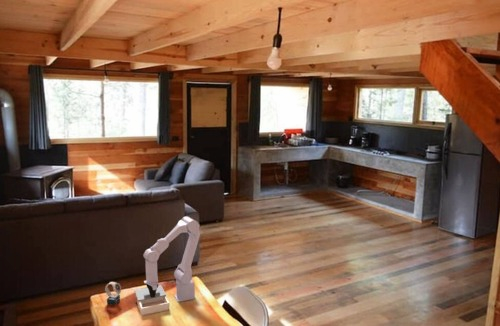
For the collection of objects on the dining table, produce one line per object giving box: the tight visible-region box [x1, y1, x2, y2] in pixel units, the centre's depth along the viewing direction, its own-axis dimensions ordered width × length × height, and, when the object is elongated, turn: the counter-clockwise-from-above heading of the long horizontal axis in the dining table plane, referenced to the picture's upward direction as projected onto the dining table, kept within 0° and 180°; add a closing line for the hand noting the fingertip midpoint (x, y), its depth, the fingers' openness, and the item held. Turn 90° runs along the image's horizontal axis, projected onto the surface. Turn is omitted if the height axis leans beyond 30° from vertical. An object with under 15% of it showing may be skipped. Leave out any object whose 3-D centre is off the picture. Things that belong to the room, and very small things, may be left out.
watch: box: [104, 281, 122, 306], centre depth 217 cm, size 6×8×11 cm
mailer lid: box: [133, 284, 167, 301], centre depth 219 cm, size 14×12×2 cm
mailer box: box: [137, 295, 170, 317], centre depth 212 cm, size 14×12×4 cm
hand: (152, 297), depth 212 cm, fingers closed
